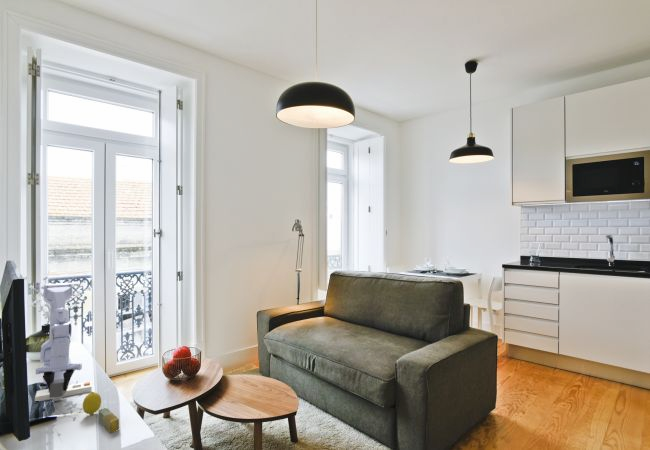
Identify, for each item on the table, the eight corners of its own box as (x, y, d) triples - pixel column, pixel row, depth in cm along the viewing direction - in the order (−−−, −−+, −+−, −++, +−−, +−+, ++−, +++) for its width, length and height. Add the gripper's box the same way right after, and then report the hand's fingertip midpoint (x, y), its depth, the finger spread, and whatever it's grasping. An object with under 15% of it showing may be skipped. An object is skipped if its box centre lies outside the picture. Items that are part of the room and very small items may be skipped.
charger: (54, 397, 139) (55, 379, 139) (66, 396, 140) (67, 378, 141) (49, 402, 134) (50, 384, 135) (61, 401, 135) (62, 382, 136)
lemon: (91, 419, 124) (92, 395, 124) (78, 417, 125) (79, 394, 125) (104, 412, 129) (105, 389, 130) (91, 410, 130) (92, 388, 131)
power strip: (36, 398, 142) (37, 389, 142) (90, 388, 152) (91, 379, 152) (34, 405, 136) (35, 395, 136) (91, 393, 146) (91, 385, 146)
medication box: (98, 421, 123) (98, 409, 123) (106, 418, 125) (106, 406, 125) (110, 434, 115) (110, 421, 115) (119, 430, 117) (119, 418, 117)
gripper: (32, 360, 132) (31, 397, 131) (78, 355, 137) (77, 392, 136) (40, 354, 139) (38, 390, 138) (84, 350, 143) (82, 385, 143)
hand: (58, 390), depth 137 cm, fingers closed on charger, 4 cm apart
